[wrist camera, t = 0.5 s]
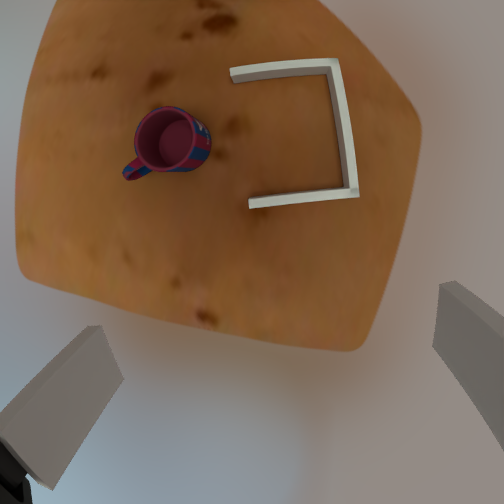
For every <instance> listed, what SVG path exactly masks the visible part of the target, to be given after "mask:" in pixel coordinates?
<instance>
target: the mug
mask: <svg viewBox="0 0 504 504" xmlns="http://www.w3.org/2000/svg"><path fill="white" fill-rule="evenodd" d="M134 146H135V151H136V154H137V156H138V157H137V158H136V159H135V160H133V161H132V162H131V163H129V164H128V165H127V166H126V167H125V168H124V170H123V172H122V174H123V176H124V178H125V179H126V180H128V181H129V180H136V179H138V178H140V177H142V176H144V175H146V174H147V173H149V172H151V171H152V170H154V171H158V172H187V171H191V170H194V169H196V168H197V167H199V166H200V165H201V164H203V162H204V161H205V160H206V159H207V157H208V155H209V153H210V149H211V136H210V133H209V131H208V129H207V128H206V126H205V125H204V124H203V123H201V122H200V121H199V120H197V119H196V118H194V117H193V116H191V115H190V114H188V113H187V112H185V111H184V110H182V109H180V108H177V107H171V106H166V107H161V108H157V109H155V110H153V111H151V112H150V113H149V114H147V115H146V116H145V117H144V118H143V120H142V121H141V122H140V124H139V126H138V127H137V130H136V133H135V138H134ZM143 165H144V166H143ZM142 166H143V167H142ZM140 167H141V168H140ZM138 168H139V169H138ZM137 169H138V170H137Z"/></svg>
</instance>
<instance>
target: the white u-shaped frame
mask: <svg viewBox="0 0 504 504" xmlns="http://www.w3.org/2000/svg"><path fill="white" fill-rule="evenodd" d="M320 74H327V79H328V84H329V90H330V95H331V100H332V106H333V112H334V118H335V124H336V130H337V137H338V144H339V152H340V159H341V167H342V176H343V185H344V187H340V188H329V189H319V190H309V191H299V192H290V193H281V194H273V195H265V196H257V197H250V198H249V199H248V202H249V209H251V208H259V207H267V206H276V205H284V204H293V203H302V202H312V201H321V200H331V199H342V198H353V197H359V186H358V176H357V167H356V159H355V151H354V144H353V137H352V130H351V123H350V117H349V111H348V106H347V100H346V95H345V90H344V85H343V80H342V75H341V70H340V66H339V61H338V58H323V59H302V60H289V61H278V62H269V63H260V64H253V65H246V66H239V67H233V68H230V75H231V78H232V80H233V82H234V84H235V83H241V82H248V81H255V80H262V79H271V78H280V77H290V76H303V75H320Z"/></svg>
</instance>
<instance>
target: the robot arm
mask: <svg viewBox="0 0 504 504" xmlns="http://www.w3.org/2000/svg"><path fill="white" fill-rule="evenodd" d="M433 348H434V349H435V350H436V352H437V353H438V354H439V356H440V357H441V358H442V360H443V361H444V362H445V364H446V365H447V366H448V368H449V369H450V370H451V372H452V373H453V374H454V376H455V377H456V379H457V380H458V381H459V383H460V384H461V386H462V387H463V389H464V390H465V392H466V393H467V394H468V396H469V397H470V399H471V400H472V402H473V403H474V405H475V406H476V408H477V409H478V411H479V412H480V414H481V415H482V417H483V418H484V420H485V421H486V423H487V425H488V426H489V428H490V429H491V431H492V432H493V434H494V436H495V437H496V439H497V441H498V442H499V444H500V446H501V447H502V449H503V451H504V317H503V316H502V315H500V314H499V313H498V312H497V311H495V310H494V309H493V308H492V307H490V306H489V305H488V304H486V303H485V302H484V301H482V300H481V299H480V298H478V297H477V296H476V295H474V294H473V293H472V292H470V291H469V290H468V289H466V288H465V287H464V286H462V285H461V284H459V283H458V282H457V281H451V282H447V283H443V284H440V285H439V298H438V308H437V317H436V325H435V332H434V340H433ZM123 380H124V378H123V376H122V373H121V372H120V369H119V367H118V365H117V362H116V360H115V358H114V355H113V353H112V351H111V348H110V346H109V343H108V341H107V339H106V336H105V333H104V331H103V328H102V326H87V327H86V328H85V329H84V330H83V331H82V332H81V333H80V334H79V335H78V336H77V337H76V338H75V339H73V340H72V341H71V342H70V343H69V344H68V345H67V346H66V347H65V348H64V349H63V350H62V351H61V352H60V353H59V354H58V355H57V356H56V357H54V358H53V360H51V362H49V363H48V364H47V365H46V366H45V367H44V368H43V369H42V370H41V371H40V372H39V373H38V374H37V375H36V376H35V377H34V378H33V379H32V380H31V381H30V382H29V383H28V384H27V385H26V386H25V388H23V389H22V390H21V391H20V393H19V394H18V395H17V396H16V397H15V398H14V399H13V400H12V401H11V402H10V403H9V404H8V405H7V406H6V407H5V408H4V409H3V410H2V412H0V504H33V503H32V496H31V487H30V483H29V481H28V479H27V478H26V477H25V476H26V474H27V473H28V474H29V475H30V476H31V477H32V478H33V479H34V480H35V481H36V482H37V483H38V484H40V485H42V486H44V487H46V488H48V489H50V490H52V491H53V489H54V488H55V486H56V484H57V483H58V481H59V479H60V478H61V476H62V474H63V473H64V471H65V470H66V468H67V466H68V465H69V463H70V462H71V460H72V458H73V457H74V455H75V454H76V452H77V450H78V449H79V447H80V446H81V444H82V442H83V441H84V439H85V438H86V436H87V435H88V433H89V431H90V430H91V428H92V427H93V425H94V424H95V422H96V421H97V419H98V418H99V416H100V415H101V413H102V411H103V410H104V408H105V407H106V405H107V404H108V402H109V401H110V399H111V398H112V396H113V395H114V393H115V392H116V390H117V389H118V387H119V386H120V384H121V383H122V381H123Z"/></svg>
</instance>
